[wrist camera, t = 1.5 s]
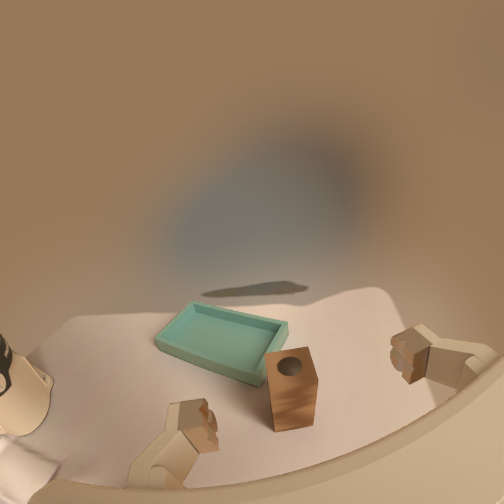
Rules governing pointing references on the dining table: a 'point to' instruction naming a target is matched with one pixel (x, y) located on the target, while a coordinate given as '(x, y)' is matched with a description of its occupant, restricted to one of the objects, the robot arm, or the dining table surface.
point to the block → (291, 388)
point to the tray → (223, 340)
